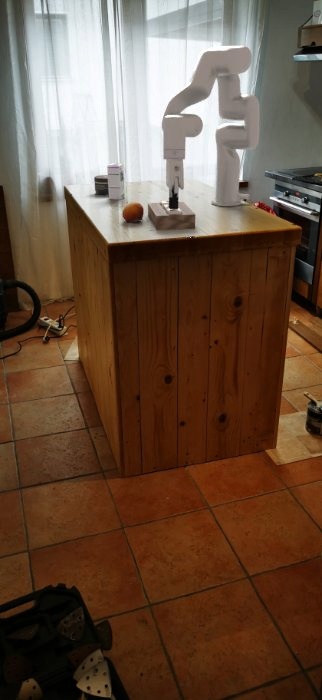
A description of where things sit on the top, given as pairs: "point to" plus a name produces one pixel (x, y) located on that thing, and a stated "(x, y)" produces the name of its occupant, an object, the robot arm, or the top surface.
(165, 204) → the button
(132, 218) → the fruit
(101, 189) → the jar
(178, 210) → the button
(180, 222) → the wooden slot board
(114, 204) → the top surface
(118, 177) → the syrup box
